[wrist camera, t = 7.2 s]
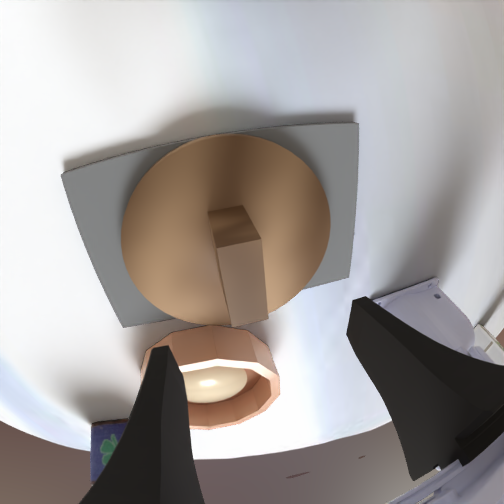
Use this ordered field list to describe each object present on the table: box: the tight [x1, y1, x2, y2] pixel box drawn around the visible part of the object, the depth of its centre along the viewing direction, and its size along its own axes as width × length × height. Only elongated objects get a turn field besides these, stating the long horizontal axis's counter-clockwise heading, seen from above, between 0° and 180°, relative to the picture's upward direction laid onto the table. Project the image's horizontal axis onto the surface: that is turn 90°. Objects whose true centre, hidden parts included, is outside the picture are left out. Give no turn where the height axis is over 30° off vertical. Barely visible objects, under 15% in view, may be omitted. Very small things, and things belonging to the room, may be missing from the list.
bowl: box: [141, 325, 280, 430], centre depth 24 cm, size 12×12×4 cm
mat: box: [61, 122, 359, 328], centre depth 18 cm, size 18×12×1 cm, turn 95°
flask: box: [90, 419, 128, 486], centre depth 24 cm, size 9×3×11 cm, turn 96°
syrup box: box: [473, 324, 504, 366], centre depth 35 cm, size 6×6×14 cm
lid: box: [121, 133, 331, 327], centre depth 16 cm, size 13×13×5 cm
